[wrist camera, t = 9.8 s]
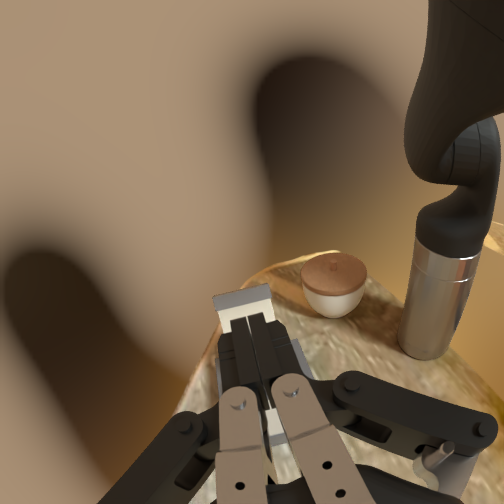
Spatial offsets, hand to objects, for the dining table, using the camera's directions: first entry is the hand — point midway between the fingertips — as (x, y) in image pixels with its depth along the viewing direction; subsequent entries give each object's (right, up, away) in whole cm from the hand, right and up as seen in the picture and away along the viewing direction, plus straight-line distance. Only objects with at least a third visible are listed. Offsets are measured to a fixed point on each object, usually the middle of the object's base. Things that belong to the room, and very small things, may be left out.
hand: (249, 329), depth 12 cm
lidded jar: (+14, -6, +34) cm, 37 cm away
